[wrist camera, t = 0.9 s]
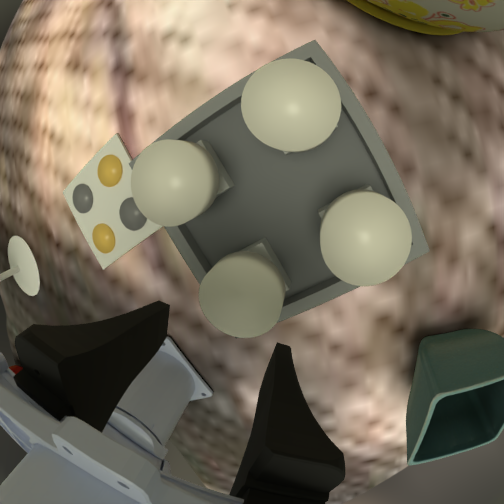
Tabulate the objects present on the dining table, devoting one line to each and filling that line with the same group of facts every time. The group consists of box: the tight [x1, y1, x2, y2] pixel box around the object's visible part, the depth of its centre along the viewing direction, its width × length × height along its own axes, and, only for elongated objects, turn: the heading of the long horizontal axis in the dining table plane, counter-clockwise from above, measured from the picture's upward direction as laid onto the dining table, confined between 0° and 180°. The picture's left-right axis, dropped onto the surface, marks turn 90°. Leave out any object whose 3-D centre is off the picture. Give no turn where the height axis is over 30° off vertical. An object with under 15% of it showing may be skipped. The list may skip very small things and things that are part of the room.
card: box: [63, 133, 163, 270], centre depth 23 cm, size 9×9×1 cm
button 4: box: [131, 139, 219, 227], centre depth 17 cm, size 5×5×4 cm
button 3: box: [199, 251, 285, 338], centre depth 18 cm, size 5×5×4 cm
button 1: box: [320, 189, 412, 286], centre depth 16 cm, size 5×5×4 cm
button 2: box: [241, 59, 341, 152], centre depth 14 cm, size 5×5×4 cm
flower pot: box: [406, 329, 504, 465], centre depth 16 cm, size 9×9×9 cm
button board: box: [129, 40, 429, 338], centre depth 19 cm, size 16×16×2 cm
